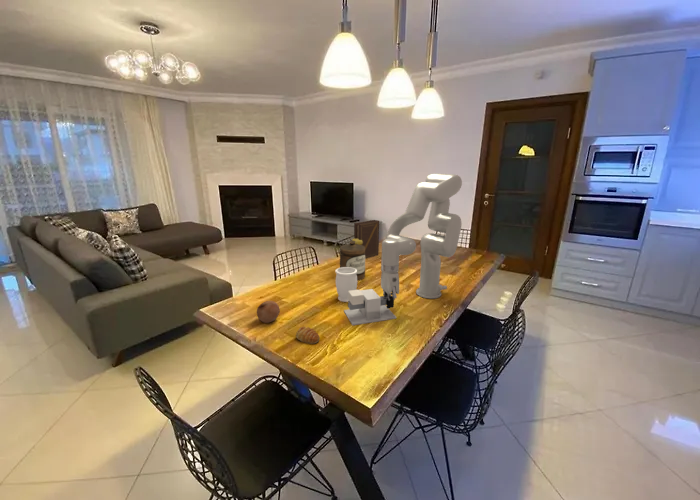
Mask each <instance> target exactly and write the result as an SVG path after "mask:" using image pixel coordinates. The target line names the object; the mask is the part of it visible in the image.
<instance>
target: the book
mask: <svg viewBox="0 0 700 500" xmlns="http://www.w3.org/2000/svg"><path fill="white" fill-rule="evenodd" d="M353 226H354V227H353V234H354V235H353V238H352V239H351V241H352V240H353V241H355V244H359V245H363V246H365V260H366V259H370V258H373V257H377V256H379V251H380V250H379V248H380V247H379V246H380V220H376V219H373V220H372V219H371V220H366V221H365V220H364V221H359V222H355V223H354V224H353Z"/></svg>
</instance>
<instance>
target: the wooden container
mask: <svg viewBox="0 0 700 500" xmlns="http://www.w3.org/2000/svg"><path fill="white" fill-rule="evenodd" d="M342 267H352V268H355V269H357V273H356V275H357V282H358V281H361V280H364V279H365V277H366V259H365V246H363V245H359V244H355V241H353V240H352V239H351V240H350V241H349V243H347V244H346V243H345V244H342V245H341V246H340V247H339V268H342Z"/></svg>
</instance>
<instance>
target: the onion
mask: <svg viewBox="0 0 700 500" xmlns="http://www.w3.org/2000/svg"><path fill="white" fill-rule="evenodd" d="M280 312H281V309H280V306H279V305H278V303H277V302H276V301H274V300H266V301H264V302H262V303H261V304H259V305H258V306H257V309H256V316H257V319H259V320H258V321H261V322H262V323H265V324H268V323H271V322H274V321H275V320H277V318H278V317H279V315H280Z"/></svg>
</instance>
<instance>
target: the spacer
mask: <svg viewBox="0 0 700 500" xmlns="http://www.w3.org/2000/svg"><path fill="white" fill-rule="evenodd" d="M360 290H361V289H356V290H351V291H348V300H349V301H350V302H351V304H352V305H357V304H364V295H363V293H362V292H361V291H360Z"/></svg>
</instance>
